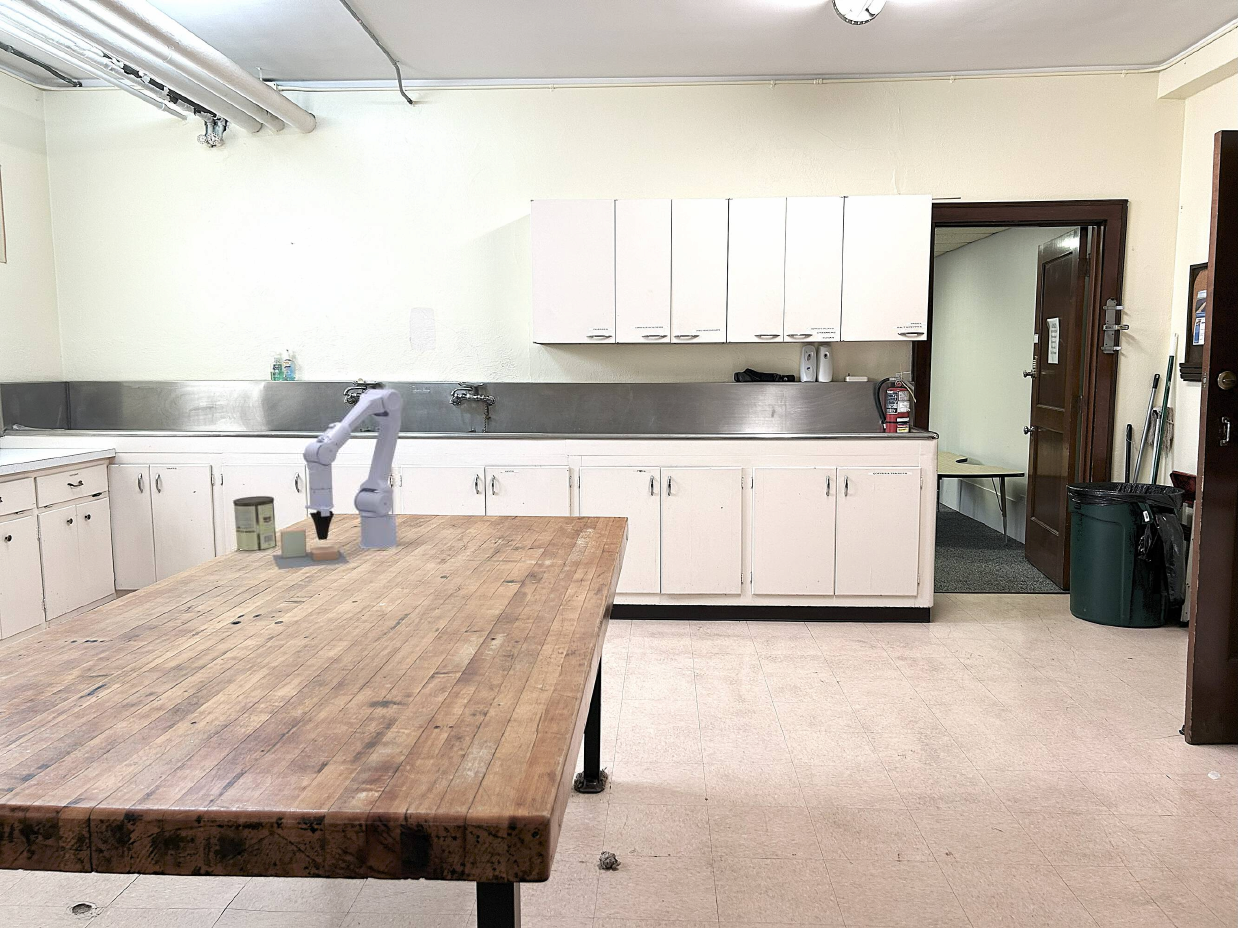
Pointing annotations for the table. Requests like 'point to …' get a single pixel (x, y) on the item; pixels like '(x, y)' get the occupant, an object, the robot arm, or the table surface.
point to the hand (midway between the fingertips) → (322, 539)
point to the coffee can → (255, 524)
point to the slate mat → (306, 561)
